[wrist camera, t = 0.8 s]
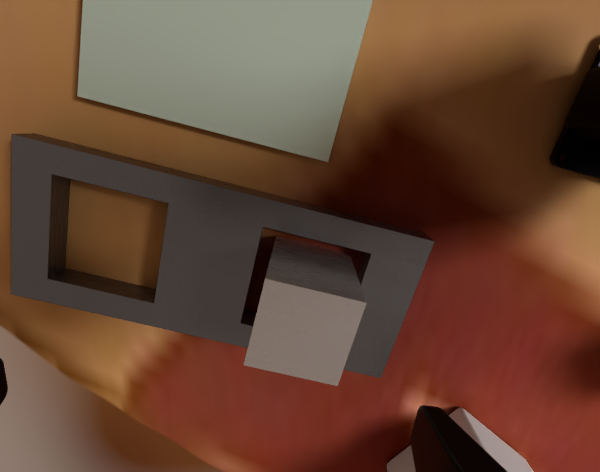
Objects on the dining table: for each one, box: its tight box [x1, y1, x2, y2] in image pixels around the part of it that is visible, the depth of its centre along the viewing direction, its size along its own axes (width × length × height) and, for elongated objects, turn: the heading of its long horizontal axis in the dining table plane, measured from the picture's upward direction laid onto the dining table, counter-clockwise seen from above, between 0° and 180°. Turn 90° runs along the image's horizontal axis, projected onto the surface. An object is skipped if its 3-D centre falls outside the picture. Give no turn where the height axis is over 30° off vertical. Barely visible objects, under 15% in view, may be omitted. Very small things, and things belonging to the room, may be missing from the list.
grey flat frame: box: [11, 133, 434, 378], centre depth 20 cm, size 22×9×2 cm, turn 76°
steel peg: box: [244, 236, 367, 386], centre depth 18 cm, size 4×4×6 cm
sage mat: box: [77, 0, 373, 162], centre depth 17 cm, size 13×10×1 cm
